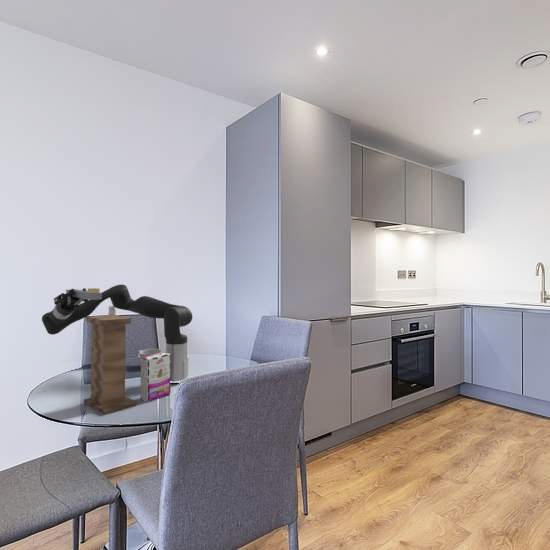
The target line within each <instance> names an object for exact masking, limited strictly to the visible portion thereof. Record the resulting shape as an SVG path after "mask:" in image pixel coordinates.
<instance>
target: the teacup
mask: <svg viewBox="0 0 550 550" xmlns="http://www.w3.org/2000/svg"><path fill="white" fill-rule="evenodd" d="M158 353H162V350H161V349H158V348H148V349H143V350H137V352H136V357H137V359H138V360H139V364H140V365H141V358H142V357H146V356H150V355H154V354H158Z"/></svg>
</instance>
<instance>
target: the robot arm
mask: <svg viewBox="0 0 550 550" xmlns="http://www.w3.org/2000/svg"><path fill="white" fill-rule="evenodd" d="M74 289H75V288H70V289H69V290H70V291H69V292H67V293H66V292H62V293H60V294H59V295H57V296H56V297H54V298H53V302H54V307H53V309H52V310H51V311H49V312H46V313H44V314H42V317H41V321H42V324H43V326H44V328H45V331H46V332H47V334H49V335H52V336H54V335H57V334H59V333H61V332H62V331H64V329H66V328H67V327H69V326H70V325H72V324H74V323H77V322H79V321H80V320H82V319H85V318H87V316H90V315H91V314H92V313H94V312H95V311H96V309H97V308H98V307H99V305H101V304H102V303H103V302H105V301H106V300H108V299H110V302H111V304H112V305H113V306H114V307H115V308H117V310H122V311H128V312H132V313H136V314H139V315H140V316H144V317H146V318H149V319H150V318H151V319H163V328H164V329H163V334H164V339H165V353H169V354H170V377H171V378H170V381H179V380H180V381H181V380H183V379H185V378H187V376H188V377H189V358H188V335H186V334H184V333H181V329H180V328H181V327H185V326H188V325H189V324H190V323H191V322H192V321H193V313H192V311H191V309H190V308H188V306H186V305H185V306H184V305H178V304H172V303H169V302H166V301H164V300H163V301H162V300H160V299H158V298H157V299H156V298H155V297H151V296H148V295H143V296H140V297H138V298H137V299H135V300H134V299H133V298H132V296H131V295H130V291H129V289H128V286H127V285H126V284H123V283H121V284H117V285H114V286H111V287H109V288H108V289H106V290H104V291H102V292H101V293H102V299H98V300H89V299H83V298H77V297H72V296H73V295H74V293H75V291H74ZM81 290H84V291H88V289H86V288H85V287H83V288H82V289H81ZM81 302H82V303H81Z"/></svg>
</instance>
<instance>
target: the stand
mask: <svg viewBox="0 0 550 550" xmlns="http://www.w3.org/2000/svg"><path fill="white" fill-rule="evenodd" d="M85 322H86V323H89V324H91V333H90V334H91V336H90V337H91V344H90V345H91V349H90V352H91V353H90V354H91V355H90V356H91V358H90V359H91V360H90V361H91V362H90V364H91V366H90V397H89V398H88V397H87V398H84V399H83V401H84V402H83V404H85V405H86V406H88V407H90V408H91V407H92V408H91V409H93V408H94V409H93V410H95V409H96V410H95V411H97V412H98V411H99V412H98V413H100V412H101V413H100V414H102V413H103V414H102V415H104V416H106V415H109V414H112V413H116V412H119V411H123V409H124V410H126V409H130V407H131V408H133V406H134V407H137V406H136V405H138V402H137V401H136V400H134V399H132V398H130V397H128V396H126V335H127V334H126V333H127V332H126V328H127V327H126V325H129V324H132V317H128V316H123V315H118V314H117V315H114V314H110V315H108V314H100V315H91V316H90V315H89V316H87V317H86V321H85ZM105 414H106V415H105Z"/></svg>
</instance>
